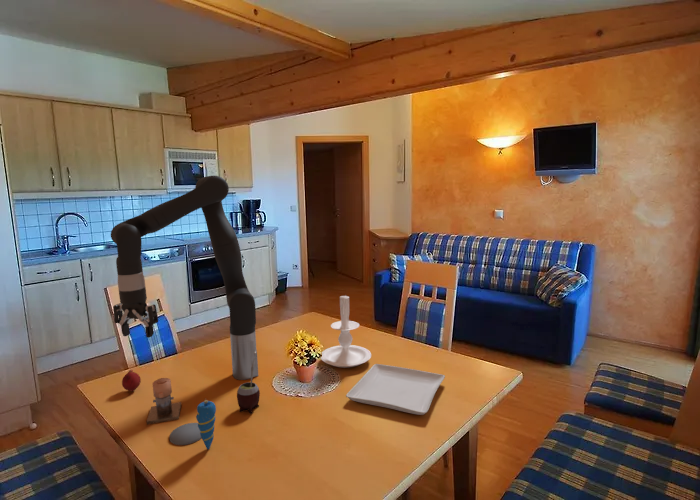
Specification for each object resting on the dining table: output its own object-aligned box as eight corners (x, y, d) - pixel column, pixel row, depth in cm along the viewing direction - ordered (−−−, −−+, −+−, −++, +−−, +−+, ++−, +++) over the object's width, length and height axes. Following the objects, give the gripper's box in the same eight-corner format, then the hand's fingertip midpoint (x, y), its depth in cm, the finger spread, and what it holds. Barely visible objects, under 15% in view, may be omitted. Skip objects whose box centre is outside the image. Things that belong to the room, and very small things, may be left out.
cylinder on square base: (181, 404, 138) (179, 384, 137) (178, 419, 129) (176, 398, 128) (151, 409, 135) (149, 389, 134) (146, 424, 127) (144, 403, 125)
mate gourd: (240, 417, 130) (237, 372, 127) (235, 405, 137) (232, 362, 134) (264, 410, 133) (261, 366, 131) (257, 399, 140) (255, 357, 138)
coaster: (206, 422, 127) (206, 420, 127) (205, 441, 118) (205, 439, 118) (171, 428, 124) (171, 426, 124) (167, 448, 115) (167, 446, 115)
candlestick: (370, 348, 182) (370, 285, 177) (371, 373, 157) (371, 302, 153) (323, 348, 182) (322, 286, 178) (317, 373, 158) (315, 302, 153)
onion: (133, 396, 144) (131, 374, 143) (119, 394, 145) (116, 373, 144) (145, 387, 150) (142, 367, 148) (131, 386, 151) (128, 365, 149)
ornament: (202, 443, 117) (197, 394, 114) (220, 442, 117) (216, 392, 115) (196, 455, 112) (192, 403, 109) (216, 454, 112) (212, 402, 110)
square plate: (445, 383, 149) (445, 373, 149) (426, 424, 125) (426, 412, 124) (375, 370, 160) (375, 361, 160) (344, 405, 136) (344, 394, 135)
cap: (172, 387, 135) (171, 374, 134) (170, 397, 129) (169, 383, 128) (155, 390, 133) (154, 376, 133) (152, 400, 127) (150, 386, 126)
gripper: (159, 284, 133) (165, 333, 135) (121, 283, 136) (127, 330, 138) (143, 290, 125) (149, 341, 128) (103, 289, 128) (110, 339, 131)
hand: (138, 336), depth 133 cm, fingers open, 8 cm apart
